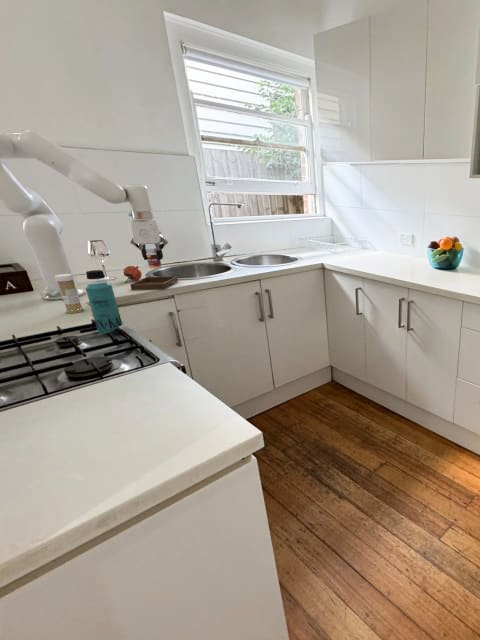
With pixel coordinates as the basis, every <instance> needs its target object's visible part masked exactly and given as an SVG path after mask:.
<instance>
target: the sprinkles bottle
mask: <svg viewBox="0 0 480 640" xmlns="http://www.w3.org/2000/svg"><path fill="white" fill-rule="evenodd" d="M55 278H56V281H57V282H58V285H59V288H60V291H61V295H62V298H63V299H62V300H63V304H64V306H65V309H66V313H68V314H76V313H80V312H82V311H83V310H84V309H83V307H82V303H81V300H80V296H78V293H77V290H76V287H75V284H74V280H73V276H72V274H60V275H56V276H55ZM80 308H81V309H80ZM77 309H79V310H77ZM71 310H73V311H71Z"/></svg>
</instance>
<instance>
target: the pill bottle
mask: <svg viewBox="0 0 480 640" xmlns="http://www.w3.org/2000/svg"><path fill="white" fill-rule="evenodd" d="M145 249H146V252H147V253H146V257H147V260H146V261H147V264H148V268H149V269H160V268H162V262H161V261H162V260H158V257H157V253H156V251H157V248H156V247H146V248H145Z"/></svg>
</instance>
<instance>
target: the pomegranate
mask: <svg viewBox="0 0 480 640" xmlns="http://www.w3.org/2000/svg"><path fill="white" fill-rule="evenodd" d="M122 272H123V276H124V277H127V279H126V280H125V283H127V282H128V281H129V280H130V281H135V282H137V281H139V280H141V279H142V276H143V273H142V271H141V270H140V269H139V266H138V265H136V266H133V265H129V266H126V267H125V268H124V269H123V271H122Z"/></svg>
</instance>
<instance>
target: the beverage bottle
mask: <svg viewBox="0 0 480 640" xmlns="http://www.w3.org/2000/svg"><path fill="white" fill-rule="evenodd" d="M85 274H86V279H87V280H95V281H90V282H87V284H86V285H85V287H84V289H85V291H86V295H87V298H88V303H89V306H90V311H91V313H92V317H93V319H92V320H93V321H94V325H95V327H96V331H97V332H98V334H100V333H109V332H112V331H114V330H115V329H117V328H118V327H119V326H121V325H124V324H123V323H124V322H123V321H122V317H121V313H120V310H119V306H118V302H117V300H116V297H115V293H114V289H113V285H112V283H110V282H108V281H107V280H104V281H101V280H99V279H101V278H105V275H104V271H103V269H102V270H101V269H93V270H87V271H86V272H85Z"/></svg>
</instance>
